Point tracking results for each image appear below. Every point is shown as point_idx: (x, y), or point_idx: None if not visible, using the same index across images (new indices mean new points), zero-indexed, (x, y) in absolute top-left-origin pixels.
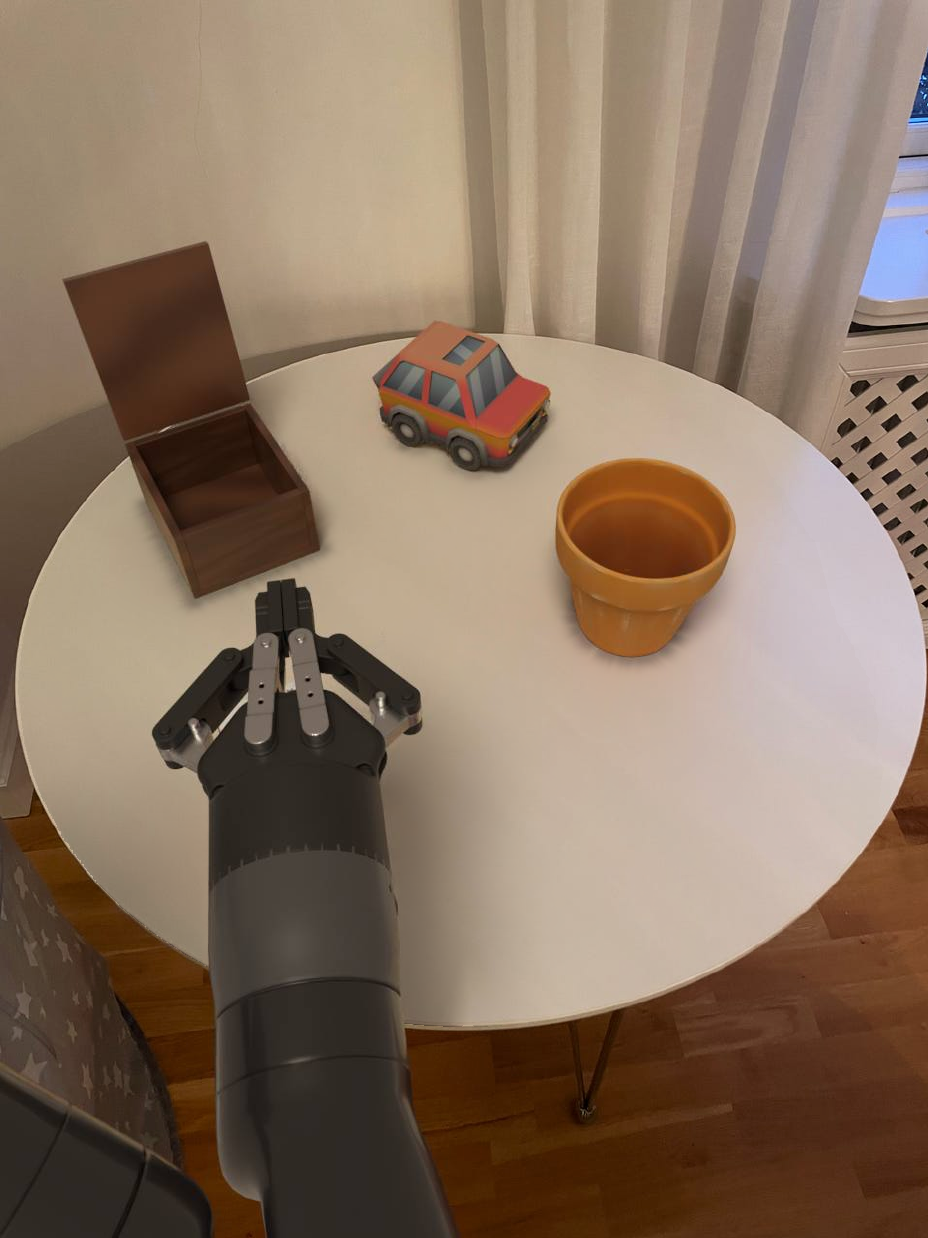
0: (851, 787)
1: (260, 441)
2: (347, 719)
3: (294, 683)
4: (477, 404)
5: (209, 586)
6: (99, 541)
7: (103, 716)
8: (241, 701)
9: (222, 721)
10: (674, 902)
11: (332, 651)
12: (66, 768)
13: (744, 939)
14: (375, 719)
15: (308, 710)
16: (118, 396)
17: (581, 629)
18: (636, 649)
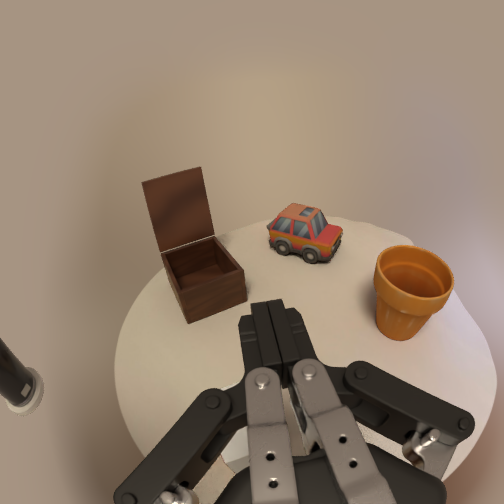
0: (489, 376)
1: (218, 251)
2: (403, 480)
3: None
4: (315, 233)
5: (194, 318)
6: (149, 297)
7: (145, 379)
8: None
9: (207, 470)
10: None
11: (357, 387)
12: (128, 402)
13: (467, 453)
14: (425, 462)
15: (360, 493)
16: (158, 231)
17: (380, 330)
18: (408, 336)
